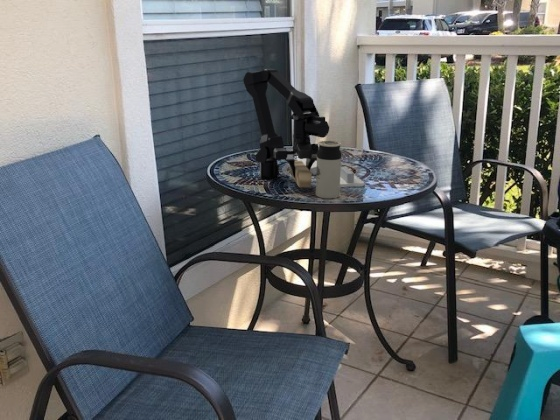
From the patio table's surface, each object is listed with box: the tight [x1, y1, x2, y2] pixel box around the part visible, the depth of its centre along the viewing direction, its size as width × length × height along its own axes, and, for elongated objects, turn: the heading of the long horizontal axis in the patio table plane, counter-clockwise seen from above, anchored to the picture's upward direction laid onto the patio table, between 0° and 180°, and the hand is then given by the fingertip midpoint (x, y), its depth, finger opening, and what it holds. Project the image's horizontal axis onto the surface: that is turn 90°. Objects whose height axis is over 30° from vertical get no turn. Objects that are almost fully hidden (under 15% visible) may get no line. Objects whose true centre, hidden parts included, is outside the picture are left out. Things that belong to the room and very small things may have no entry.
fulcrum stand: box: [340, 166, 366, 188], centre depth 207 cm, size 10×12×4 cm
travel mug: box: [315, 140, 342, 200], centre depth 188 cm, size 8×8×18 cm
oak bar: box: [289, 160, 312, 188], centre depth 201 cm, size 18×4×5 cm, turn 9°
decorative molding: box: [296, 156, 317, 176], centre depth 233 cm, size 34×5×10 cm
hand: (300, 177), depth 201 cm, fingers closed on oak bar, 4 cm apart
